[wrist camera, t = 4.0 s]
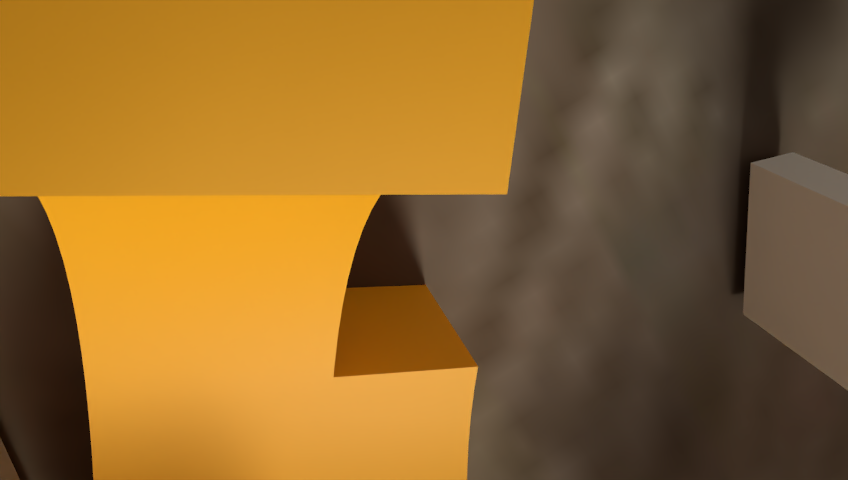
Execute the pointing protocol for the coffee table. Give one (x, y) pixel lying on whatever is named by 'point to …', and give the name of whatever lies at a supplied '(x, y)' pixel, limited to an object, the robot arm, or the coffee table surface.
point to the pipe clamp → (257, 220)
